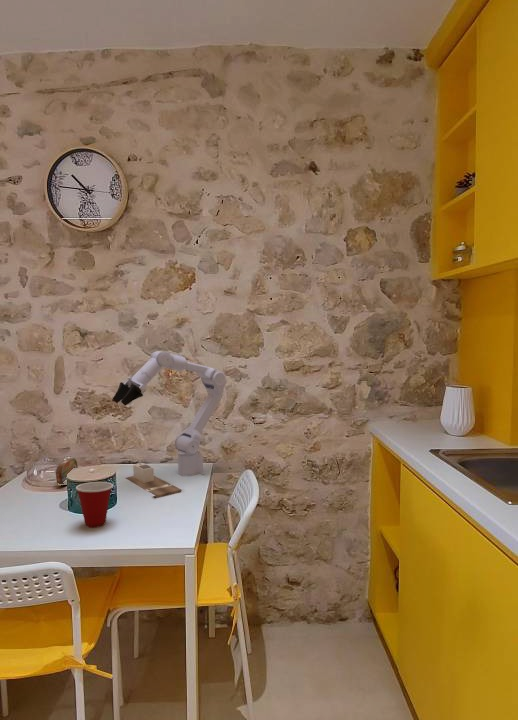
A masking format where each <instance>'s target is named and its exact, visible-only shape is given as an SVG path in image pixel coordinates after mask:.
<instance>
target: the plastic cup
mask: <svg viewBox="0 0 518 720" xmlns="http://www.w3.org/2000/svg"><path fill="white" fill-rule="evenodd" d="M112 488H114V484H113V483H111V482H106V481H91V482H85V483H81V484H79V485H76V486H75V490H76V491H77V494H78V499H79V502H80V506H81V507H80V508H81V512H82V513H81V514H82V516H83V520H84V524H85V526H86V527H87V526H88V528H98V527H97V526H99V527H102V526H104V525H105V524H106V521H107V515H108V510H109V509H108V508H109V504H110V503H109V502H110V496H111V492H112ZM104 523H105V524H104ZM103 524H104V525H103ZM101 525H102V526H101Z"/></svg>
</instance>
